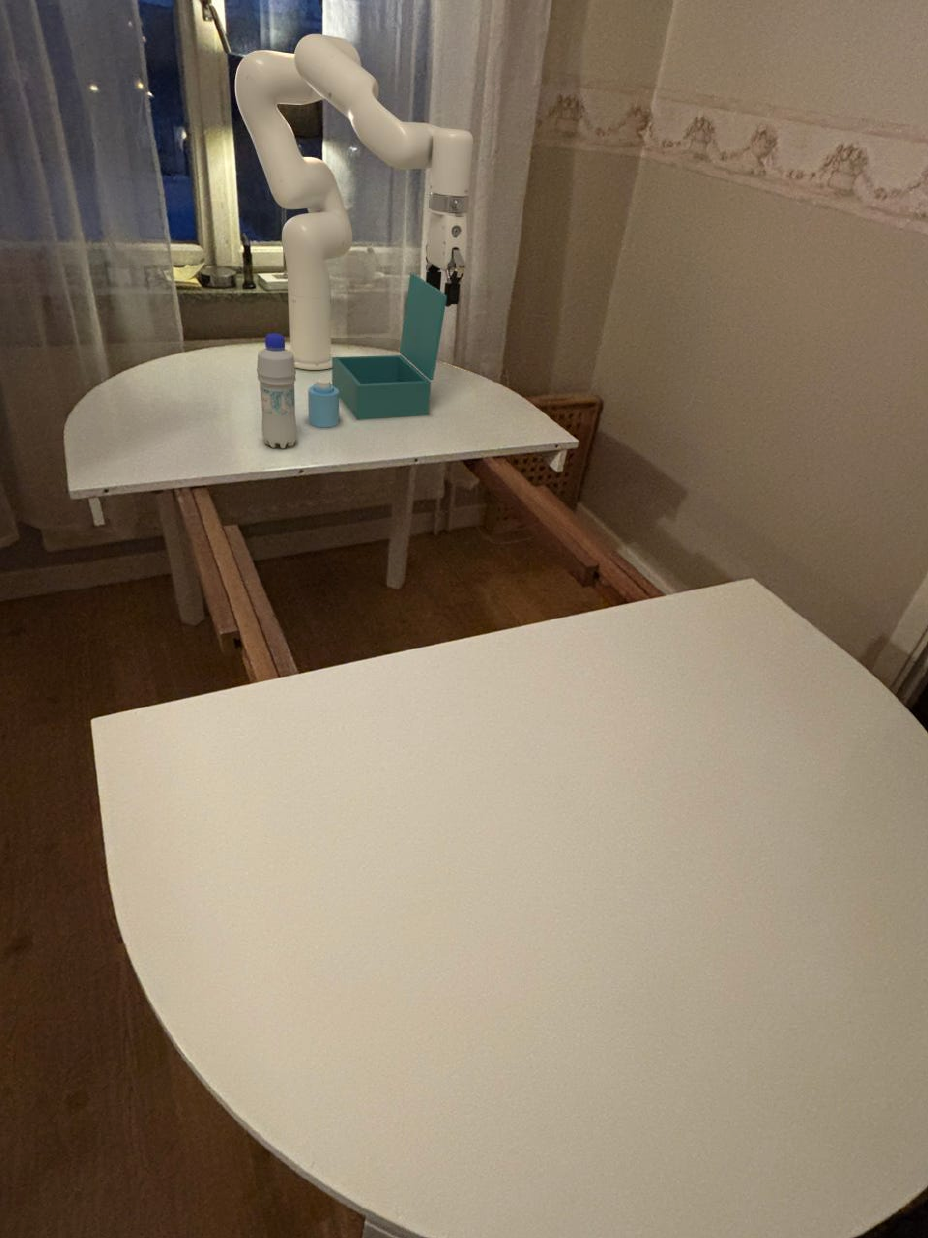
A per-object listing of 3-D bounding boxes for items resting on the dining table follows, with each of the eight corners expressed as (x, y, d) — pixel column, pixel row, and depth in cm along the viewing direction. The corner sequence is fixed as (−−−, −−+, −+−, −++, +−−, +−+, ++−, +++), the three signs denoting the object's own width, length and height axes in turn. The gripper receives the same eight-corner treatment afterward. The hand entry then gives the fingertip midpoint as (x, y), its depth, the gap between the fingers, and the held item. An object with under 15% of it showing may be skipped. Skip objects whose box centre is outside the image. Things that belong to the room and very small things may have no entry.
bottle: (257, 437, 140) (250, 328, 128) (292, 435, 142) (289, 327, 130) (266, 452, 135) (259, 340, 123) (302, 449, 138) (299, 339, 126)
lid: (443, 295, 144) (466, 297, 147) (410, 272, 157) (432, 275, 159) (429, 380, 154) (451, 381, 156) (399, 352, 166) (420, 353, 169)
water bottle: (305, 416, 150) (304, 376, 145) (334, 415, 152) (334, 375, 148) (313, 428, 146) (312, 387, 141) (342, 426, 148) (343, 385, 143)
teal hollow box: (357, 419, 152) (357, 385, 148) (332, 388, 165) (332, 356, 161) (428, 414, 158) (431, 382, 154) (399, 385, 171) (401, 354, 167)
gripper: (485, 213, 139) (475, 308, 149) (448, 198, 151) (441, 287, 161) (448, 211, 136) (441, 309, 146) (414, 196, 148) (409, 287, 158)
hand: (441, 297), depth 154 cm, fingers open, 9 cm apart
